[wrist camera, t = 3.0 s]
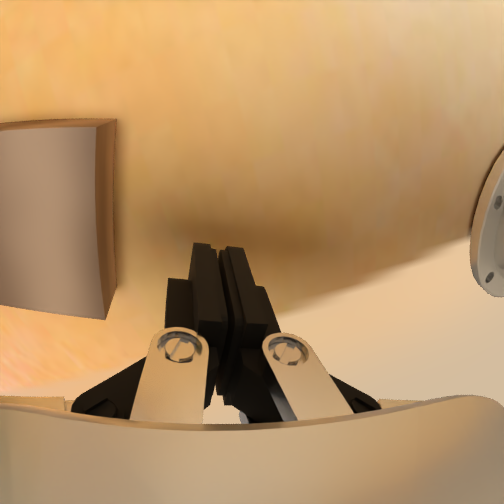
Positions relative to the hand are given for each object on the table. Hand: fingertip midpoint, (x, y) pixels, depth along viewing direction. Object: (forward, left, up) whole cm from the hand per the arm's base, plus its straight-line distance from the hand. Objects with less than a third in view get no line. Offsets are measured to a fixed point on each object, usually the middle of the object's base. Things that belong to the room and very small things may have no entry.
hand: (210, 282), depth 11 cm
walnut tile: (+10, 0, -4) cm, 11 cm away
